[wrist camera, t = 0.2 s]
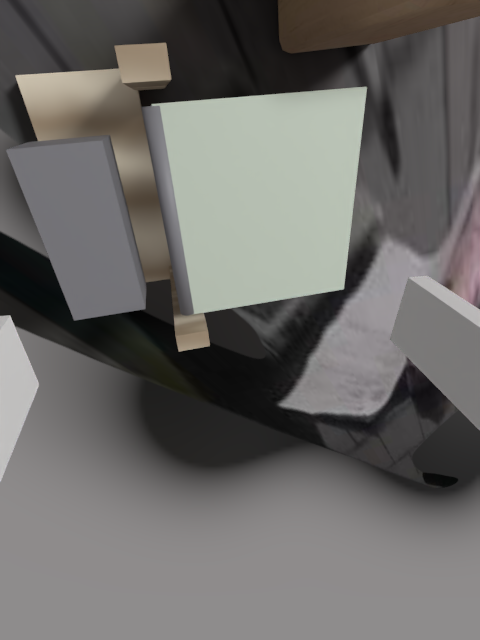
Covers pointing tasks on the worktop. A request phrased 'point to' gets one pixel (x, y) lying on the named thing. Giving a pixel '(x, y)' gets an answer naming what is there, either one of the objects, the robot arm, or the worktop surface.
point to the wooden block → (362, 20)
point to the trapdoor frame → (118, 148)
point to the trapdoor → (206, 202)
